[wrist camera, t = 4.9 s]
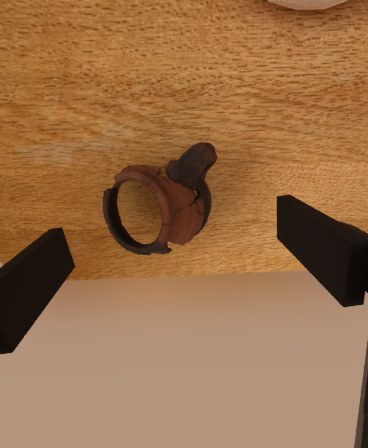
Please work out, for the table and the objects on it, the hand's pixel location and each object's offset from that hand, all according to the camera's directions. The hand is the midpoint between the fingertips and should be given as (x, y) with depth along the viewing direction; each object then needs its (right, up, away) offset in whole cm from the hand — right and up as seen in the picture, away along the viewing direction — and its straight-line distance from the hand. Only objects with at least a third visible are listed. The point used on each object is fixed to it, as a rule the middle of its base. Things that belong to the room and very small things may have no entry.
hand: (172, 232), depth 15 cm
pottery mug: (-1, +4, +11) cm, 12 cm away
